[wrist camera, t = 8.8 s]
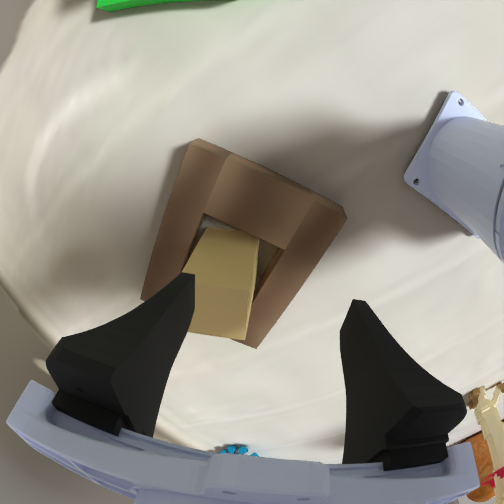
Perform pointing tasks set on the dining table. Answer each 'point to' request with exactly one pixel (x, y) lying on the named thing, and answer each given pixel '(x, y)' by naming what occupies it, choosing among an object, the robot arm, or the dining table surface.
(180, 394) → the dining table surface
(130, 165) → the dining table surface
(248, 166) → the brown square frame
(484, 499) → the bread
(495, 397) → the cat figure
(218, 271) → the sand colored cuboid
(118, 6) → the mechanical part
